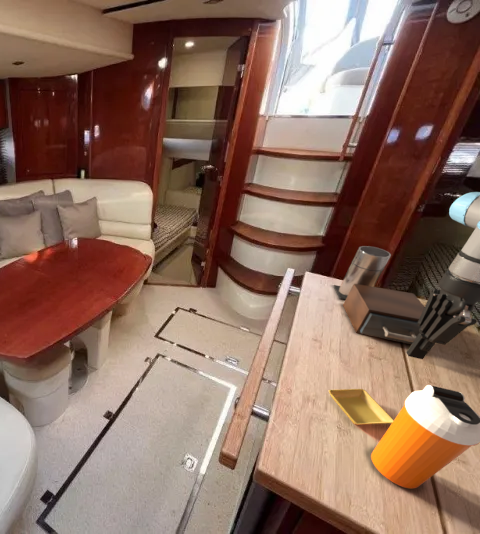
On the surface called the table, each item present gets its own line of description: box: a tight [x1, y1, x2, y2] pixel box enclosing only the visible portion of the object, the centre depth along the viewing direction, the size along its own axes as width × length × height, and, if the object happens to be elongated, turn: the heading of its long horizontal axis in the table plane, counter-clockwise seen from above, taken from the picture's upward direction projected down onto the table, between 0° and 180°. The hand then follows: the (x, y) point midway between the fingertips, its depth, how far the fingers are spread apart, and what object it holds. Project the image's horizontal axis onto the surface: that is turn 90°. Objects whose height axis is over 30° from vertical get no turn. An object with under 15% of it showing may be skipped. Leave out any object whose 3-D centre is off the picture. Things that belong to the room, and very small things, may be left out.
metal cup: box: [338, 245, 392, 297], centre depth 103 cm, size 8×8×17 cm
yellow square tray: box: [328, 388, 395, 426], centre depth 69 cm, size 9×9×2 cm
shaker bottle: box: [370, 384, 480, 489], centre depth 54 cm, size 9×9×20 cm
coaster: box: [333, 284, 347, 301], centre depth 108 cm, size 9×9×1 cm
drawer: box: [360, 313, 420, 345], centre depth 89 cm, size 18×14×7 cm
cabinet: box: [342, 284, 425, 346], centre depth 92 cm, size 15×15×9 cm
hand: (414, 355), depth 77 cm, fingers closed
